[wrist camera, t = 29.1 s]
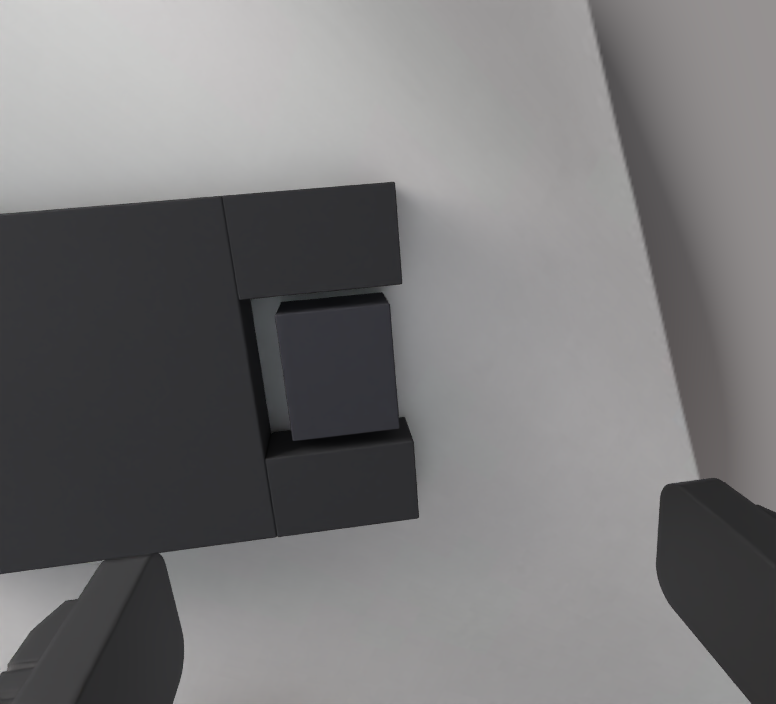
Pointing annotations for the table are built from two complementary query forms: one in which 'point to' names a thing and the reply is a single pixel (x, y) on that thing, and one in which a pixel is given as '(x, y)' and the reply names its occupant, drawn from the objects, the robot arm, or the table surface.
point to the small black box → (338, 365)
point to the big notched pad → (178, 376)
